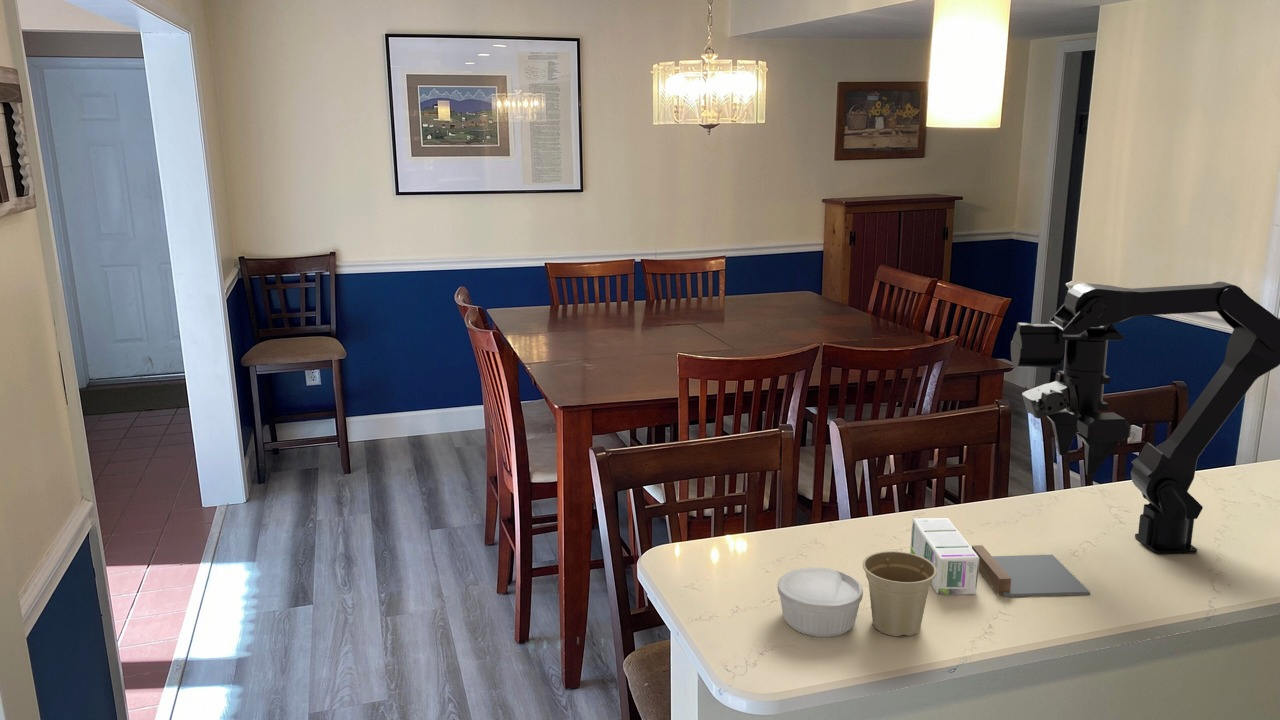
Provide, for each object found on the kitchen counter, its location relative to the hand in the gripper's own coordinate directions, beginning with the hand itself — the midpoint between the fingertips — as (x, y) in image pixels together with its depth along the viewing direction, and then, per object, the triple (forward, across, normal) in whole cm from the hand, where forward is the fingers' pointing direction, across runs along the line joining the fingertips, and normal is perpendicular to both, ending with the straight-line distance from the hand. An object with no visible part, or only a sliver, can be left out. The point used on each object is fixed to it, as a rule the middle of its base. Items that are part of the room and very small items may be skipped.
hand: (1076, 464), depth 142 cm
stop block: (+13, +11, -17) cm, 24 cm away
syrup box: (+10, +2, -23) cm, 25 cm away
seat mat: (+13, +11, -11) cm, 20 cm away
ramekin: (+13, +22, -44) cm, 51 cm away
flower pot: (+13, +24, -34) cm, 44 cm away
